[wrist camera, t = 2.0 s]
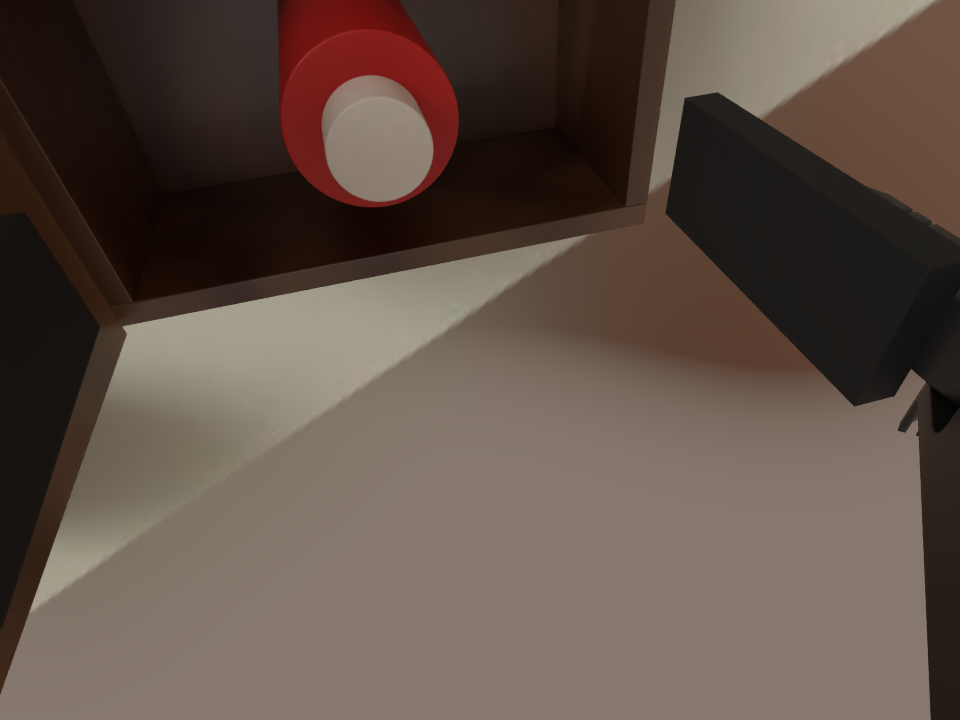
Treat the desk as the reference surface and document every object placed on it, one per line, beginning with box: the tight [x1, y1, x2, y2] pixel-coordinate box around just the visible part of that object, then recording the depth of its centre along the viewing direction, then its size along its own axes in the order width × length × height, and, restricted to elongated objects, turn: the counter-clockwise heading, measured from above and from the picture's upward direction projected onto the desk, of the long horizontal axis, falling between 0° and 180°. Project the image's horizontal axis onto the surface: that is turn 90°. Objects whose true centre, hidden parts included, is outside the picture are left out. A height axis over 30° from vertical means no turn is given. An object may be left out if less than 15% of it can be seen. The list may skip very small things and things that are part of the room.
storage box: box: [0, 0, 676, 326], centre depth 21 cm, size 20×13×9 cm
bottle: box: [278, 0, 459, 207], centre depth 19 cm, size 5×5×13 cm
